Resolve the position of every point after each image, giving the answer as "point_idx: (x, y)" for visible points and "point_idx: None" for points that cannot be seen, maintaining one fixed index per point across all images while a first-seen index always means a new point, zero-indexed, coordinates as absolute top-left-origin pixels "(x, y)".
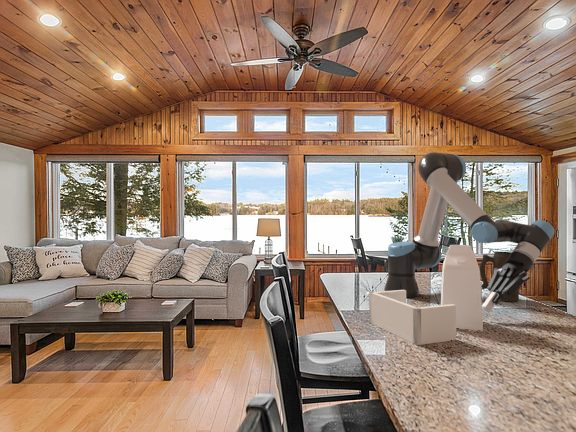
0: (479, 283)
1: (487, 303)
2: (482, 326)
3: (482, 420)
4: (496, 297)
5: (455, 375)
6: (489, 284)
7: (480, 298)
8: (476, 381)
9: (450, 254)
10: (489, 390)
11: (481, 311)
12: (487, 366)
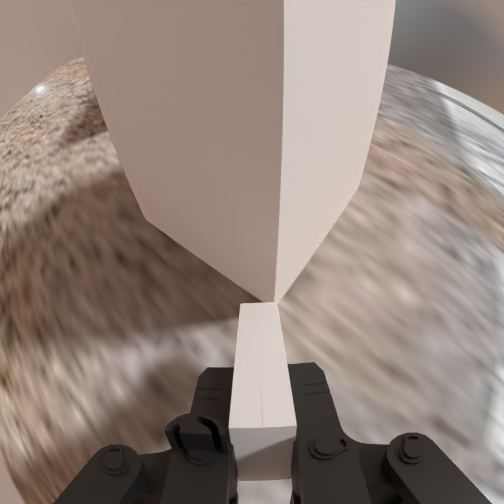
0: (83, 28)
1: (241, 322)
2: (140, 206)
3: (33, 90)
4: (205, 404)
5: (69, 88)
6: (460, 485)
7: (103, 103)
8: (49, 99)
9: None
10: (35, 104)
11: (121, 158)
12: (48, 119)
